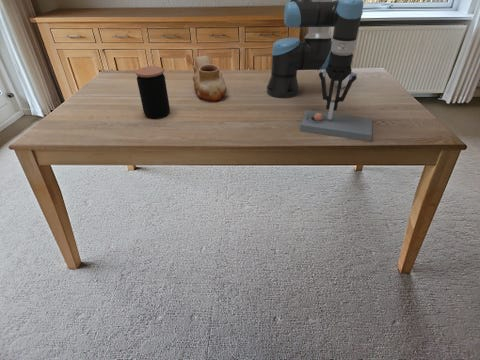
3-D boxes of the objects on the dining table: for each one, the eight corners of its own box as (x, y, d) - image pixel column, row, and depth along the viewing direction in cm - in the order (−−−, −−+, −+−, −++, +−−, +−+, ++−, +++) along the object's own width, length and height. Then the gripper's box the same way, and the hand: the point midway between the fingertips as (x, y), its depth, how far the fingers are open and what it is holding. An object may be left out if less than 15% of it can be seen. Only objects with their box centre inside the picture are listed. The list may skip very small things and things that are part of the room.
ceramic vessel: (216, 81, 159) (214, 51, 150) (231, 100, 139) (230, 67, 130) (189, 85, 155) (186, 54, 146) (201, 104, 135) (198, 70, 126)
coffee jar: (175, 110, 131) (168, 67, 120) (162, 121, 123) (154, 76, 112) (153, 107, 134) (145, 65, 123) (139, 117, 126) (129, 73, 115)
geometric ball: (335, 92, 152) (327, 79, 150) (344, 83, 155) (337, 69, 152) (346, 89, 145) (338, 75, 143) (356, 79, 148) (348, 65, 145)
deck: (299, 130, 115) (300, 124, 114) (306, 115, 126) (306, 109, 124) (369, 141, 108) (371, 135, 107) (370, 124, 119) (372, 118, 117)
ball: (321, 123, 116) (312, 122, 117) (322, 120, 119) (313, 118, 119) (323, 115, 114) (314, 114, 115) (324, 112, 117) (315, 110, 118)
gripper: (320, 53, 100) (310, 119, 115) (362, 57, 97) (347, 124, 111) (323, 48, 106) (313, 111, 120) (362, 51, 103) (348, 115, 117)
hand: (329, 117), depth 116 cm, fingers closed
